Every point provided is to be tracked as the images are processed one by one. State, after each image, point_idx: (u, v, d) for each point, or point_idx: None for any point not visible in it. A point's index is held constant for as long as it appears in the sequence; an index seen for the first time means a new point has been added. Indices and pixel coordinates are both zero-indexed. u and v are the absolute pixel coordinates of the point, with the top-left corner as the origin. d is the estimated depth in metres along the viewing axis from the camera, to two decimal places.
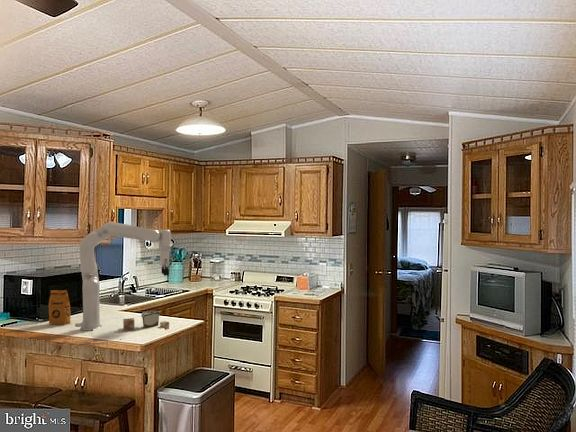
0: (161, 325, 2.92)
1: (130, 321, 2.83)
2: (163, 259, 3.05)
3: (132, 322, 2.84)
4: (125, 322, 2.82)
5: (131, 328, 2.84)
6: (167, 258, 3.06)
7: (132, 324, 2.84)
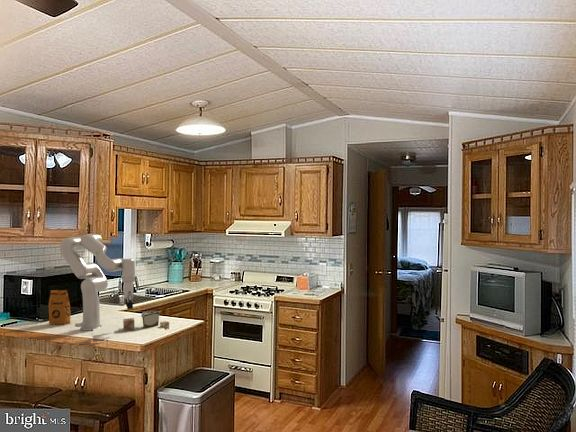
0: (161, 325, 2.92)
1: (130, 321, 2.83)
2: (126, 291, 2.81)
3: (132, 322, 2.84)
4: (125, 322, 2.82)
5: (131, 328, 2.84)
6: (131, 290, 2.82)
7: (132, 324, 2.84)
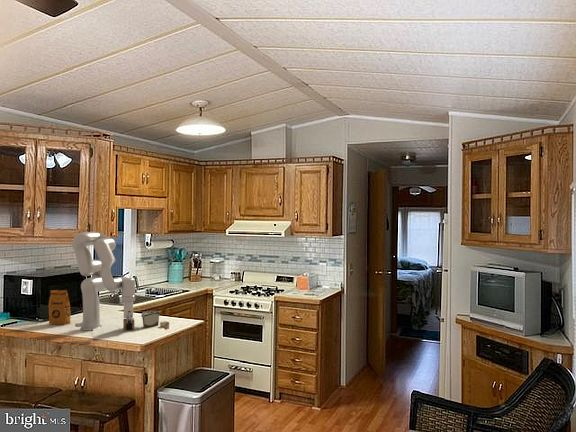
0: (161, 325, 2.92)
1: None
2: (126, 311, 2.81)
3: (132, 322, 2.84)
4: (125, 322, 2.82)
5: None
6: (130, 310, 2.82)
7: (132, 324, 2.84)
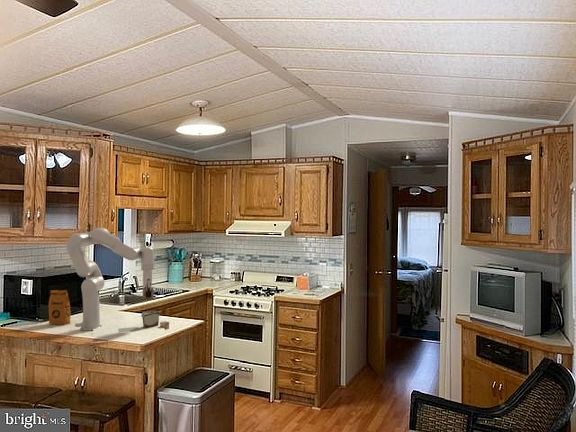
0: (161, 325, 2.92)
1: None
2: (145, 279, 2.89)
3: (151, 290, 2.92)
4: (144, 290, 2.90)
5: None
6: (150, 278, 2.90)
7: (151, 292, 2.92)
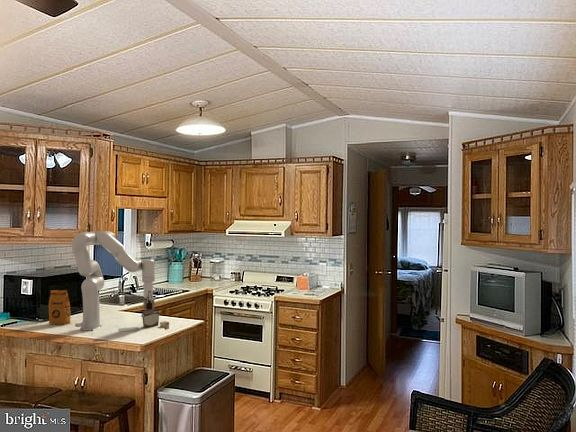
0: (161, 325, 2.92)
1: None
2: (146, 291, 2.89)
3: (152, 302, 2.92)
4: (145, 302, 2.91)
5: None
6: (150, 290, 2.90)
7: (152, 304, 2.92)
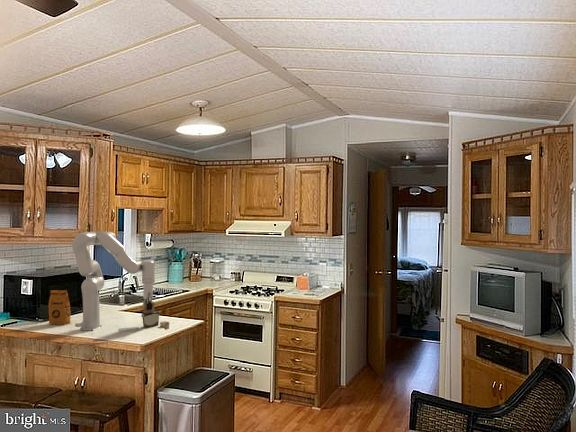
0: (161, 325, 2.92)
1: None
2: (146, 292, 2.89)
3: (152, 305, 2.92)
4: (145, 305, 2.91)
5: (151, 310, 2.92)
6: (150, 291, 2.90)
7: (152, 307, 2.92)
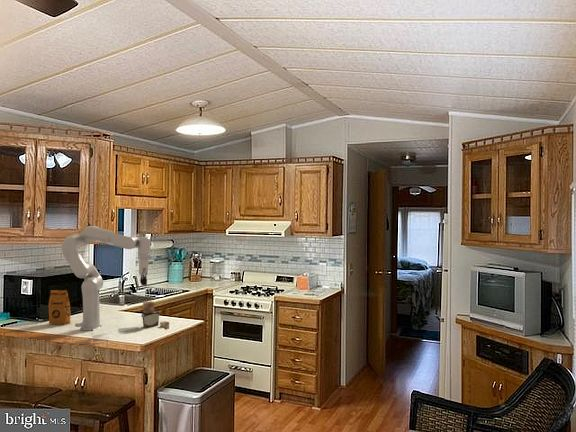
0: (161, 325, 2.92)
1: (150, 304, 2.92)
2: (141, 268, 2.91)
3: (152, 305, 2.92)
4: (145, 305, 2.91)
5: (151, 310, 2.92)
6: (146, 267, 2.92)
7: (152, 307, 2.92)
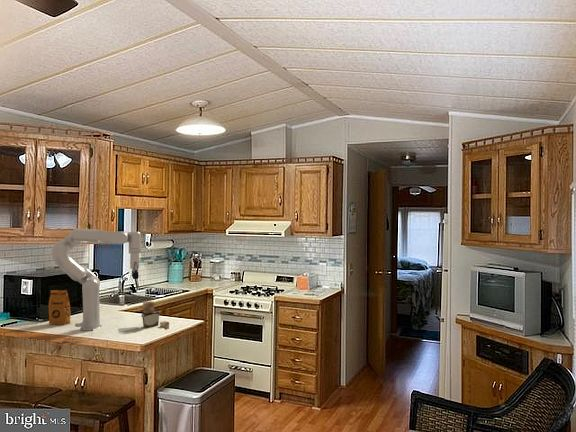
0: (161, 325, 2.92)
1: (150, 304, 2.92)
2: (132, 262, 2.96)
3: (152, 305, 2.92)
4: (145, 305, 2.90)
5: (151, 310, 2.92)
6: (137, 261, 2.97)
7: (152, 307, 2.92)
